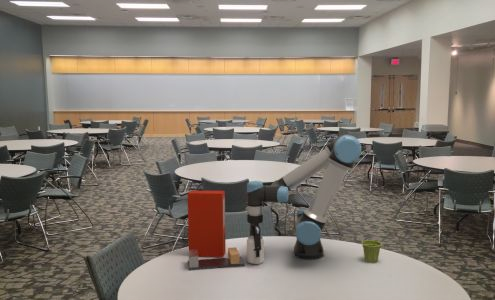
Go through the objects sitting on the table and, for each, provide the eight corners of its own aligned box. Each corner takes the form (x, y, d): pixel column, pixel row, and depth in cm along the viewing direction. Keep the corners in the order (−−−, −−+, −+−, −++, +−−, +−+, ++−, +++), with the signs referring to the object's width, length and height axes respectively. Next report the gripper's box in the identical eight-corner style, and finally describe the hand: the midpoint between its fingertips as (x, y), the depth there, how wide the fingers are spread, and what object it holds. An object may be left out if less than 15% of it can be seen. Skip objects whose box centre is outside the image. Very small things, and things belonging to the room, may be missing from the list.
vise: (241, 259, 228) (241, 246, 227) (244, 266, 218) (244, 253, 217) (187, 262, 224) (187, 250, 223) (188, 270, 214) (188, 257, 213)
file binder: (192, 251, 240) (191, 190, 236) (225, 252, 238) (224, 190, 235) (188, 256, 232) (187, 193, 228) (223, 257, 230) (222, 193, 227)
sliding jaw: (236, 256, 227) (236, 247, 227) (239, 263, 217) (239, 254, 217) (228, 257, 227) (228, 247, 226) (230, 264, 217) (230, 254, 216)
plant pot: (380, 265, 218) (381, 247, 217) (360, 262, 222) (360, 245, 220) (381, 258, 227) (382, 241, 226) (362, 256, 230) (362, 239, 229)
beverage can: (251, 266, 219) (251, 241, 217) (244, 260, 226) (243, 236, 224) (266, 263, 222) (266, 238, 221) (258, 257, 229) (258, 234, 228)
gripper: (243, 208, 231) (243, 252, 234) (251, 220, 210) (251, 268, 212) (258, 208, 233) (258, 251, 235) (267, 219, 211) (267, 267, 214)
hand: (255, 259), depth 224 cm, fingers open, 9 cm apart
